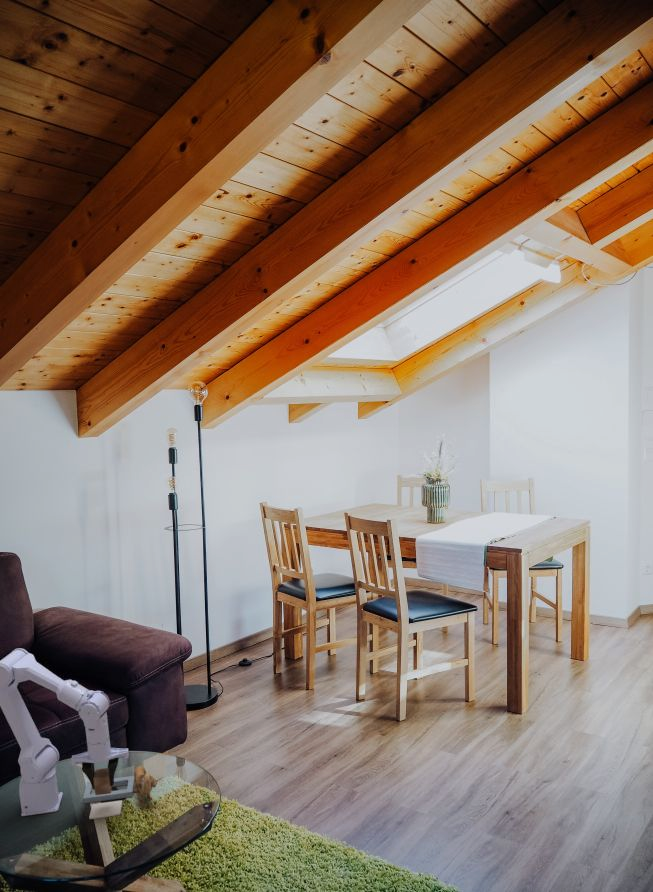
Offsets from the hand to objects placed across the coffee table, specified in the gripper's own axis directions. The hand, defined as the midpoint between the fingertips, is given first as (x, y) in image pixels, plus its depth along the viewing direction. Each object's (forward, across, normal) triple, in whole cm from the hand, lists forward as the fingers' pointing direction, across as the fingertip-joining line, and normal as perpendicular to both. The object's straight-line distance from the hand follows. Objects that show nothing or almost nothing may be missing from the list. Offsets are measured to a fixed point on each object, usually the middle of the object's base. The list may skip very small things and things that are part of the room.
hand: (103, 785), depth 204 cm
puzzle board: (+8, 0, -8) cm, 11 cm away
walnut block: (+2, 0, 0) cm, 2 cm away
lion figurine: (+8, -10, -4) cm, 13 cm away
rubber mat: (+8, 0, 0) cm, 8 cm away
